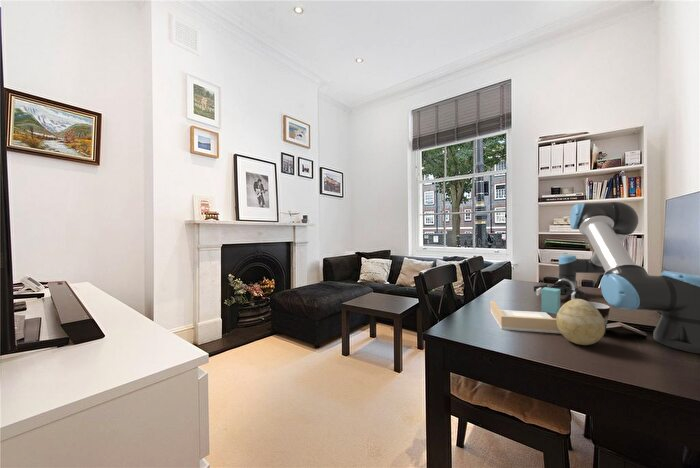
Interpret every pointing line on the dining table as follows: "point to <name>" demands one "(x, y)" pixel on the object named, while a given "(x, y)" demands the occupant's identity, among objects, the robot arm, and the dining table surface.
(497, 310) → the tray
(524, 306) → the dining table surface
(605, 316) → the coffee mug
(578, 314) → the fossilized egg
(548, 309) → the teal block
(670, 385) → the dining table surface
